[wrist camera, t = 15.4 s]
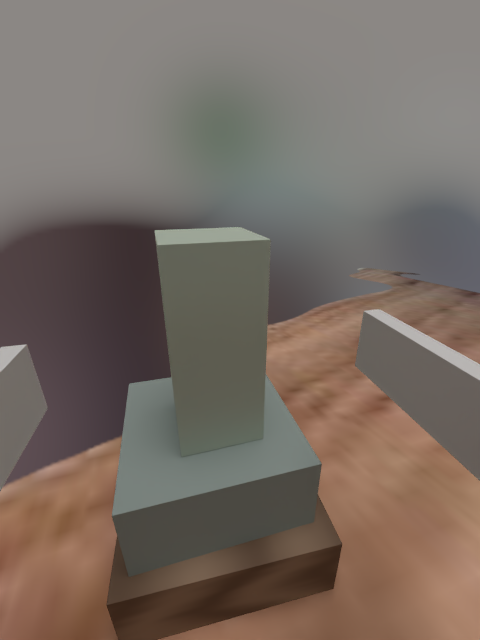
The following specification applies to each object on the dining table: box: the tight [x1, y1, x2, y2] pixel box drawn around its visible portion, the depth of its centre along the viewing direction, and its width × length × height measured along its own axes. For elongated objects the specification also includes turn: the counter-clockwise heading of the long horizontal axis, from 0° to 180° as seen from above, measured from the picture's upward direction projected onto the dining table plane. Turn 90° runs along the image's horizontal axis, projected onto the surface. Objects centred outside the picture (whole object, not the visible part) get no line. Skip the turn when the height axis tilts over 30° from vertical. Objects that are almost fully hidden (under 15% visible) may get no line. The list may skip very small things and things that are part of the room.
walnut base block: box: [107, 495, 342, 640], centre depth 23 cm, size 13×13×5 cm
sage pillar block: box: [155, 227, 271, 457], centre depth 18 cm, size 5×5×12 cm
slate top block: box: [112, 375, 322, 577], centre depth 21 cm, size 11×11×5 cm
